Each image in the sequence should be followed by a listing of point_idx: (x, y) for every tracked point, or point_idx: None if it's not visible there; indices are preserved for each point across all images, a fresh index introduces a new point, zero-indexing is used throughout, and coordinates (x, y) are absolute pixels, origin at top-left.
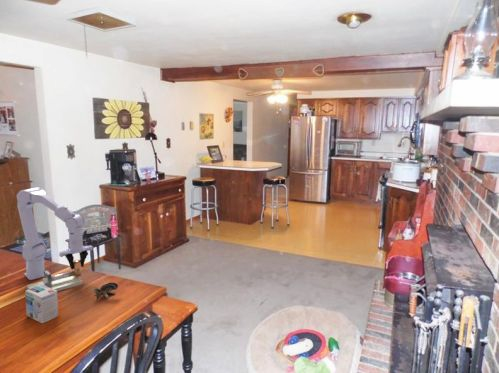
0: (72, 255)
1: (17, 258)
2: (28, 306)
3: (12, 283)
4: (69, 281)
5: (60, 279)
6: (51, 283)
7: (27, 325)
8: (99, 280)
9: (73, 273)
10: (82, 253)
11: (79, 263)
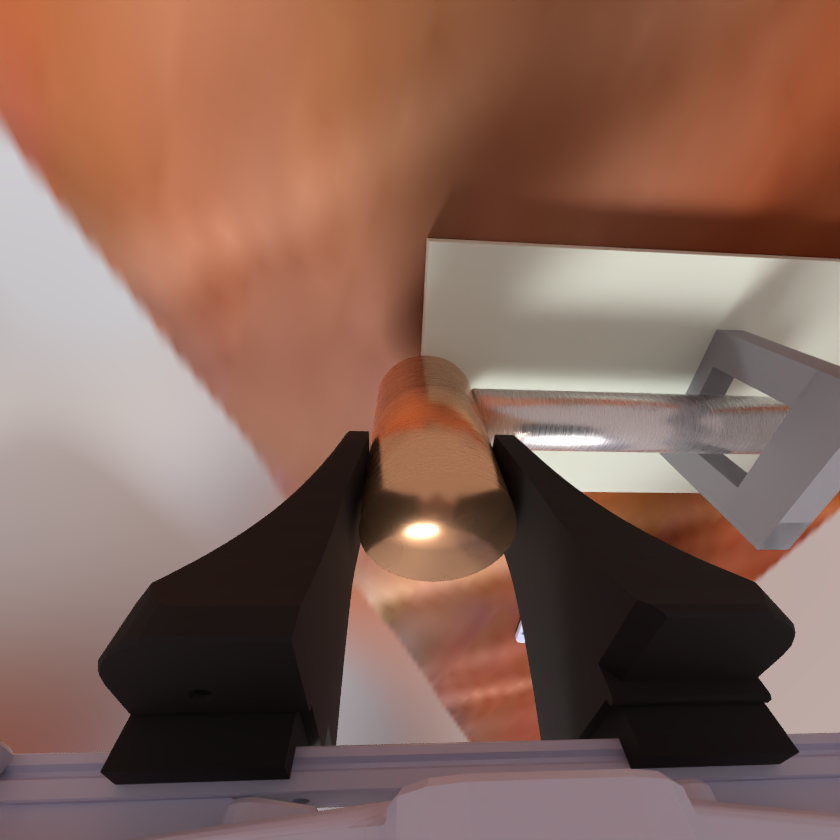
0: (604, 681)
1: None
2: None
3: None
4: (532, 340)
5: None
6: (753, 342)
7: None
8: (229, 189)
9: (486, 397)
10: (306, 675)
11: (421, 453)
